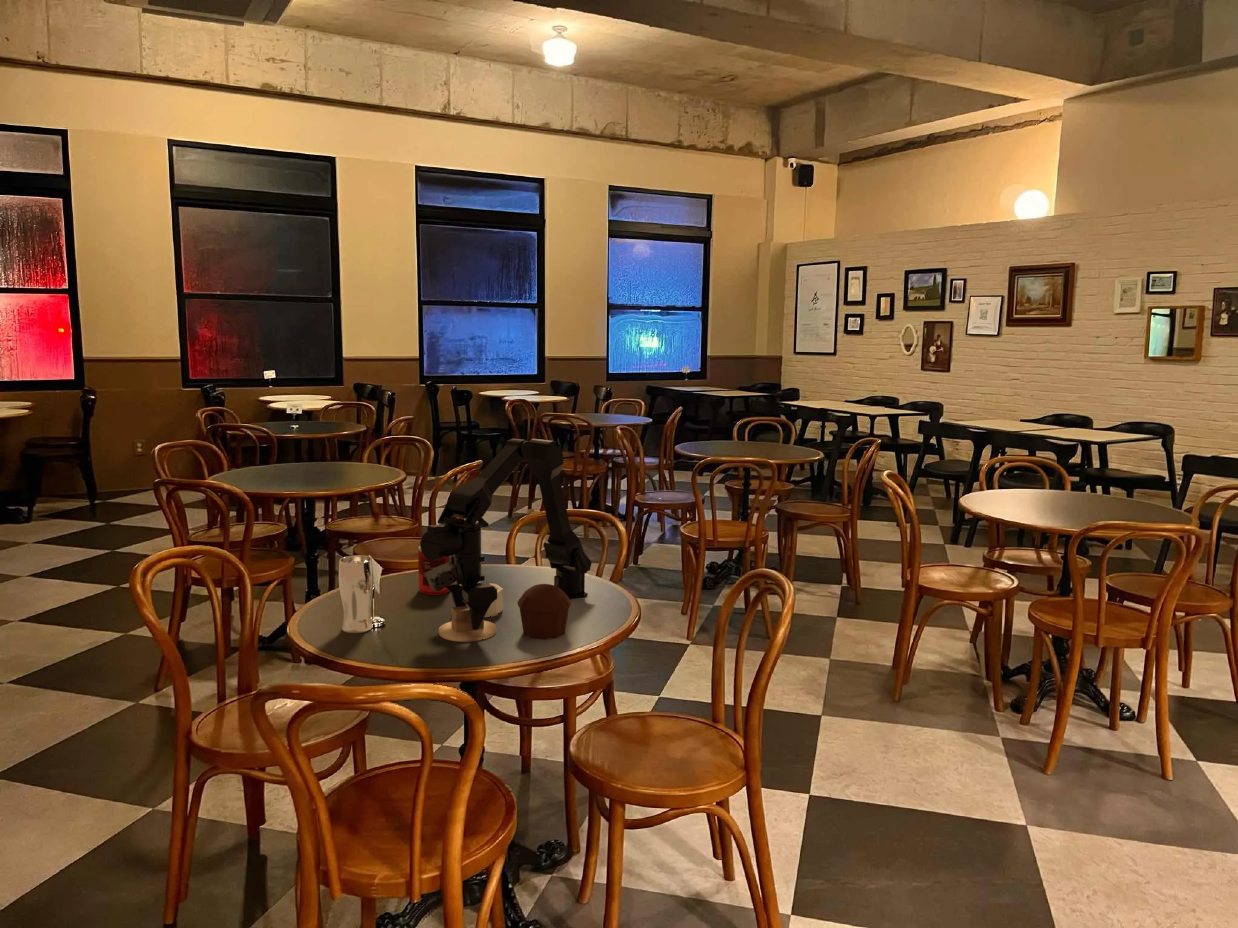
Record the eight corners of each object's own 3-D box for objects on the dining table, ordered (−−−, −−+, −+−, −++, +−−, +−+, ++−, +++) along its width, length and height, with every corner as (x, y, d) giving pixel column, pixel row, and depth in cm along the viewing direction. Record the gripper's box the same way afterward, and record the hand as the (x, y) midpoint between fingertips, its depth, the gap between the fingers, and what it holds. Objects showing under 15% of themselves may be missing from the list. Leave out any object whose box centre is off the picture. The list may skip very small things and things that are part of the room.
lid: (484, 620, 193) (484, 596, 192) (505, 637, 182) (505, 611, 181) (431, 628, 187) (430, 603, 186) (449, 646, 176) (449, 620, 176)
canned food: (440, 584, 218) (439, 540, 216) (457, 591, 212) (457, 547, 210) (412, 589, 213) (411, 545, 211) (429, 597, 207) (429, 552, 205)
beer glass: (381, 625, 187) (379, 556, 185) (361, 635, 180) (359, 564, 178) (353, 621, 189) (351, 553, 187) (333, 631, 183) (331, 561, 180)
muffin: (511, 626, 188) (511, 581, 187) (560, 620, 192) (561, 576, 191) (526, 644, 177) (526, 596, 176) (578, 638, 182) (579, 591, 180)
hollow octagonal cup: (491, 601, 205) (491, 580, 204) (508, 613, 196) (508, 592, 196) (450, 607, 200) (449, 586, 199) (465, 620, 191) (465, 598, 191)
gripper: (415, 544, 186) (416, 615, 188) (444, 565, 170) (445, 643, 172) (465, 539, 191) (466, 608, 194) (498, 559, 175) (498, 634, 178)
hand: (467, 623), depth 184 cm, fingers open, 9 cm apart
